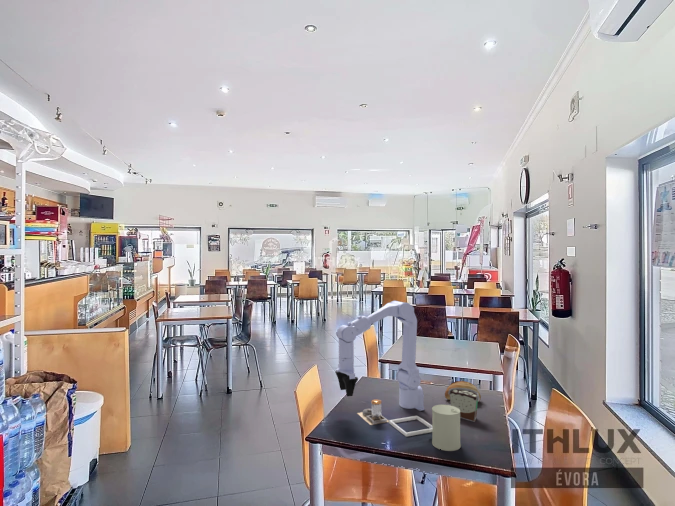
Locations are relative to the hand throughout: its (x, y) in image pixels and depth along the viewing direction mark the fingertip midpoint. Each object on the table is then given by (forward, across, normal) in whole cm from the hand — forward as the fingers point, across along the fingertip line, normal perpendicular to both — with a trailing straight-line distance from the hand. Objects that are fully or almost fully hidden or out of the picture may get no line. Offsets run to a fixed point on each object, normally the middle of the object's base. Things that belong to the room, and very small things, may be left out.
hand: (346, 392), depth 155 cm
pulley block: (+10, +5, +9) cm, 14 cm away
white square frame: (+10, +17, +19) cm, 27 cm away
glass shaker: (+8, +8, +9) cm, 15 cm away
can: (+10, +30, +24) cm, 40 cm away
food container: (+10, +12, +45) cm, 48 cm away
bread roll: (+10, -4, +54) cm, 55 cm away
